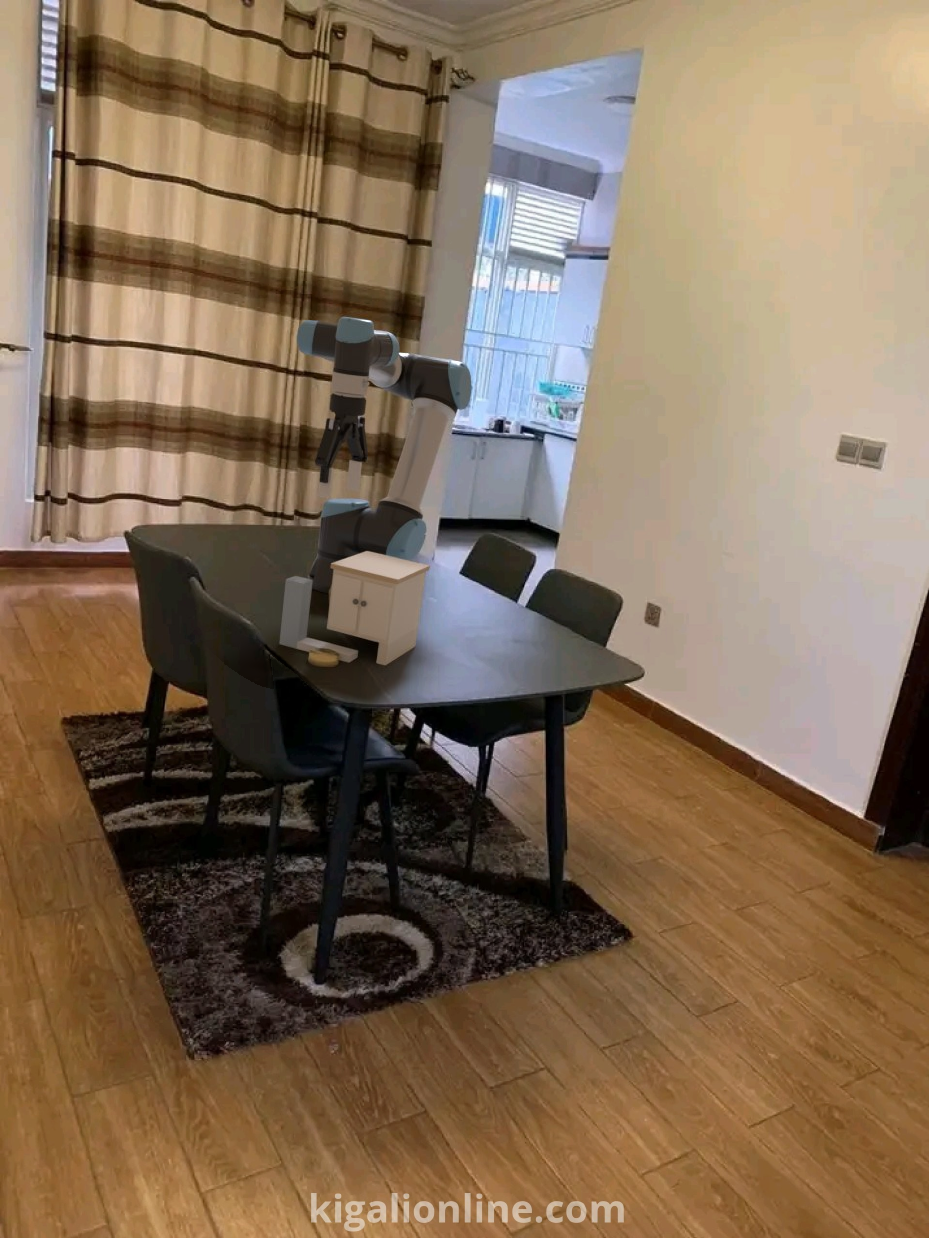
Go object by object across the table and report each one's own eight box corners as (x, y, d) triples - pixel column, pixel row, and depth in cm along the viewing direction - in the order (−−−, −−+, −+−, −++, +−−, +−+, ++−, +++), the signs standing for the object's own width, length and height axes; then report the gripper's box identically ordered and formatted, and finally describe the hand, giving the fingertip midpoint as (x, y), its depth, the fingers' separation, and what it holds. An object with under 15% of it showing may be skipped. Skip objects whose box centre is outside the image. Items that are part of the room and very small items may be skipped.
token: (302, 662, 186) (303, 653, 185) (316, 655, 191) (317, 646, 191) (330, 669, 184) (331, 659, 183) (343, 662, 190) (344, 652, 189)
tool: (279, 644, 194) (285, 579, 190) (288, 639, 197) (295, 575, 193) (349, 662, 189) (357, 596, 185) (357, 657, 193) (365, 592, 189)
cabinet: (318, 650, 194) (328, 564, 188) (357, 630, 210) (367, 550, 205) (384, 668, 189) (396, 580, 184) (418, 646, 206) (429, 565, 201)
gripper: (337, 399, 184) (327, 504, 190) (389, 395, 207) (378, 490, 213) (304, 393, 186) (295, 497, 192) (358, 390, 209) (349, 484, 215)
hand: (338, 494), depth 203 cm, fingers open, 13 cm apart
